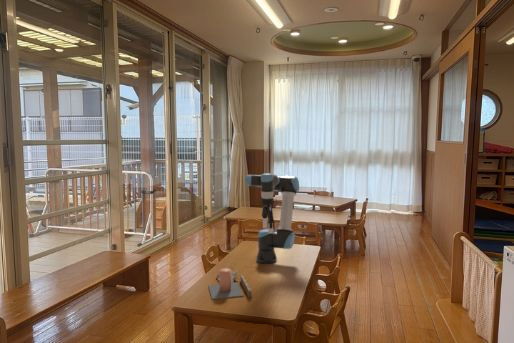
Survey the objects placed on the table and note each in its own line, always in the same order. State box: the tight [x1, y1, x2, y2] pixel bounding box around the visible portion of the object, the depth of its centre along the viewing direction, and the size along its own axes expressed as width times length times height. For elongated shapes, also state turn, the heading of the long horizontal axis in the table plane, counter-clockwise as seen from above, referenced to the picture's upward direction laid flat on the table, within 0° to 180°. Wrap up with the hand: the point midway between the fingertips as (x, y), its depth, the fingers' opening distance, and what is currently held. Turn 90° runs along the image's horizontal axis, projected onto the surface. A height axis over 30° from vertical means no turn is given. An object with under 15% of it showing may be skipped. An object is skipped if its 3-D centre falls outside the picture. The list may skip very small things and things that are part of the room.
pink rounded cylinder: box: [218, 268, 232, 293], centre depth 218 cm, size 7×7×12 cm
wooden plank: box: [239, 274, 253, 299], centre depth 222 cm, size 26×2×4 cm, turn 13°
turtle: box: [215, 266, 241, 283], centre depth 236 cm, size 16×10×10 cm, turn 91°
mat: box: [208, 281, 244, 301], centre depth 219 cm, size 20×18×1 cm
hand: (267, 230), depth 235 cm, fingers open, 13 cm apart
